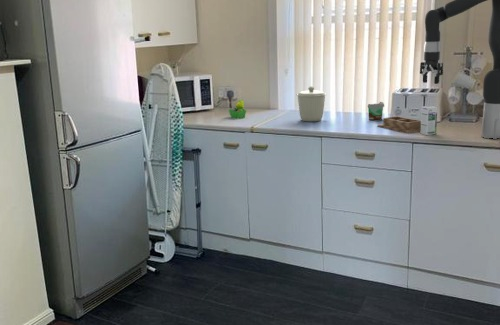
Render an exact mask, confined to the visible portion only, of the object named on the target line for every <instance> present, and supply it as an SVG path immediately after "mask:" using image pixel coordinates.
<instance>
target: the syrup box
mask: <svg viewBox="0 0 500 325" xmlns="http://www.w3.org/2000/svg"><path fill="white" fill-rule="evenodd" d="M420 111H421V113H420V121H421V131H420V134H421V135H426V136H430V135H431V136H433V135H437V123H438V120H437V119H438V106H435V105H425V106H424V105H423V106H421V110H420Z"/></svg>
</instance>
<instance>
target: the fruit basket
mask: <svg viewBox="0 0 500 325" xmlns="http://www.w3.org/2000/svg"><path fill="white" fill-rule="evenodd" d="M244 105H245V102H244V100H242V99H239V101H238V102H237V103H236V104H235V106H236V107H234V108H232V109H228V113H229V115H230V118H233V119H237V120H238V119H244V118H245V117H246V113H247V109H244V108H245V107H244Z"/></svg>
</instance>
